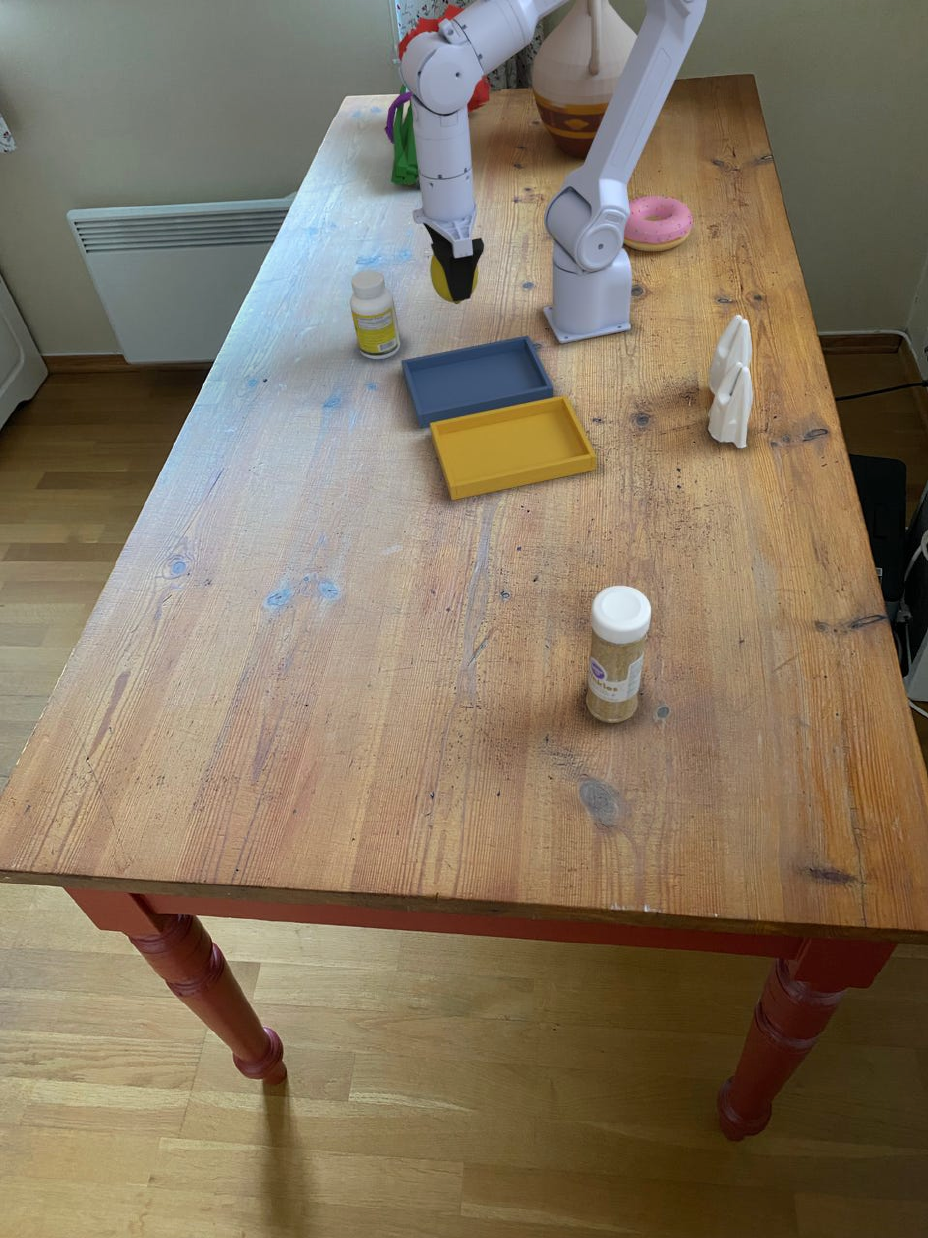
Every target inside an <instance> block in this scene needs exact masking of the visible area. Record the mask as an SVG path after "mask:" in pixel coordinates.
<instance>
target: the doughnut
mask: <svg viewBox="0 0 928 1238" xmlns="http://www.w3.org/2000/svg"><path fill="white" fill-rule="evenodd" d="M629 208H630V216H629V218H628V220H627V222H626V225H625V229H624V240H623V245H625V246H626V247H629V248H631V249H633V250H638V251H641V252H662V251H663V252H664V251H666V250H670V249H673V248H675V247H678V246H680V245H681V244H682V243H683V242H685V240H686V239H687V238H688V237H689V235H690V233H691V230H692V229H693V226H694V216H693V213H692V212H691V211H690V209H689V208H688V206H687V205H686V204H685V203H683V201H680V200H678V199H676V198H674V197H673V196H672V197H670V196H669V197H668V196H665V195H664V194H663V195H646V196H641V197H637V198H634V199H630V200H629Z"/></svg>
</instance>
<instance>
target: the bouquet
mask: <svg viewBox="0 0 928 1238" xmlns="http://www.w3.org/2000/svg"><path fill="white" fill-rule="evenodd" d="M465 9H466V8H462V7H458V6H454V5H453V4H450V3H449V4H448V5H447V6H446V9H445V11H444V14H443V16H442V17H441V16H439V17H438V18H425V17H420V18H419V20H418V21H417V23H416V27H415V29H414V28H411V30H410V31H406V32H405V33H406V34H405V35H404V37H403V38H402V39H401V41H399V43H398V44H397V48H398V59H399V61H400V62H401V63H402V57H403V53H404V52H405V53H406V50H407V48H406V47H407V45H408V44H409V43H410V41H411V40H412V39H413V38H414V37H416V36H417V35H419V34H421V33H424V32H428V33H431V31H432V32H437V33H438V31H439V27H438V24H439V23H440V22H442V21H443V20H444V19H448V20H449V21H450V20H451V19H453V18H454V17H455V16H457V15H458V14H459V13H461V12H462V11H463V10H465ZM487 79H488V77H487V76H485V77H483V78H482V80H480V81H479V82H478V83H477V84H476V86H475V89H474V92H473V95H472V97H471V99H470V101H469V102H468V104H467V111H468V117H470V113H473V112H474V111H476V110H479V109H480V108H481V107H483V106H487V104H486V103H488V102H489V101H490V88H491V82H486V80H487ZM406 89H407V88H406V87H405V85H404V84H403V83H402V84H401V86H400V90H399V95H398V96H397V97H396V98H395V99H394V100H393V101H392V103H391V104H390V106H389V108H388V111H387V116H386V122H385V123H386V124H385V125H386V126H385V127H384V132H385V134H386V136H387V138H388V140H389V141H390V143H391V144H393V156H394V158H393V165H392V172H391V177H390V182H392V183H393V184H395V185H403V184H404V185H406V186H407V185H408V186H411V185H413V184H415V183H416V180H417V181H418V184H419V185H420V180H419V171H418V163H417V154H416V145H415V137H414V129H413V112H412V104H411V96H412V93H411V92H410V91H406ZM408 102H409V105H408V107H407V112H406V114H405V117H404V107H405V104H406V103H408ZM403 118H404V120H403Z"/></svg>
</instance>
